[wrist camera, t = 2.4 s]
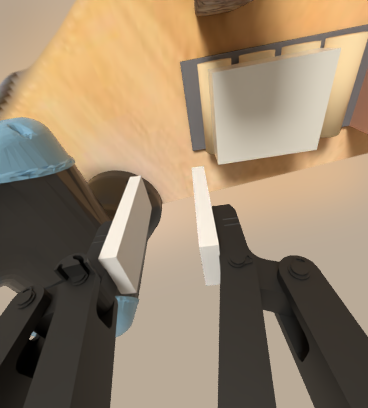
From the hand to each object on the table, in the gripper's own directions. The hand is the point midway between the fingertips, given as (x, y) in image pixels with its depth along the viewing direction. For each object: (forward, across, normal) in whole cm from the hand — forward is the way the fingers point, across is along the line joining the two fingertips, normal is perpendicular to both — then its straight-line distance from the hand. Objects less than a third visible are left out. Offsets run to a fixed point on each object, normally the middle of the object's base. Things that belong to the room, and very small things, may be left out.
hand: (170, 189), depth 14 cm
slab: (+16, +11, 0) cm, 19 cm away
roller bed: (+21, +15, 0) cm, 26 cm away
